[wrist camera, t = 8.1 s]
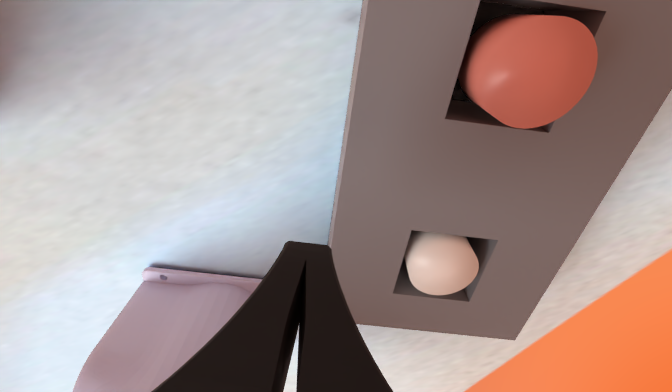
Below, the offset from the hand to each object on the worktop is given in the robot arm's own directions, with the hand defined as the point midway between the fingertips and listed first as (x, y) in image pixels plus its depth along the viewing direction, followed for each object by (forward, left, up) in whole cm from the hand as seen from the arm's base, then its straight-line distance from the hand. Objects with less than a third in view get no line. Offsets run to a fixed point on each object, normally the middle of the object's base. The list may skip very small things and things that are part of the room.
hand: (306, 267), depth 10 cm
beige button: (+7, -4, -8) cm, 12 cm away
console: (+7, +1, -9) cm, 12 cm away
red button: (+7, +6, -7) cm, 12 cm away
